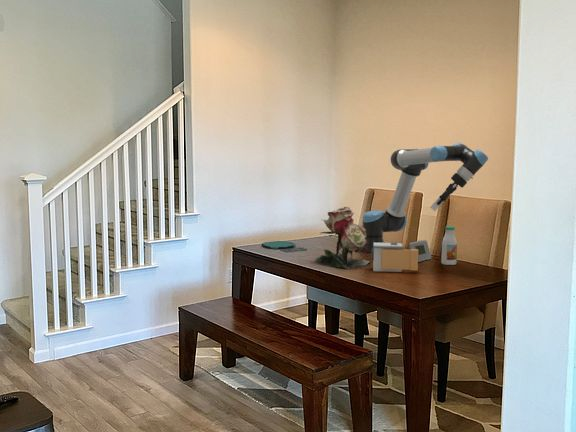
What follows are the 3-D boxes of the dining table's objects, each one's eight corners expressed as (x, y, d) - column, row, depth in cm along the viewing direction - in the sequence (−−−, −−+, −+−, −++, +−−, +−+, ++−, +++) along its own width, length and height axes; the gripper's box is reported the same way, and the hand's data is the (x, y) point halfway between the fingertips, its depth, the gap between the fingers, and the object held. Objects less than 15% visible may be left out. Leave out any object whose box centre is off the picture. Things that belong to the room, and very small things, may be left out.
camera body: (400, 268, 308) (401, 241, 306) (402, 272, 297) (402, 244, 296) (371, 267, 310) (371, 240, 308) (371, 271, 299) (372, 244, 297)
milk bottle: (440, 264, 317) (441, 227, 314) (442, 262, 324) (443, 225, 321) (455, 265, 314) (457, 227, 311) (456, 263, 321) (458, 225, 319)
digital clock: (414, 263, 319) (414, 244, 318) (402, 261, 327) (402, 241, 326) (436, 260, 328) (436, 241, 327) (423, 257, 336) (424, 239, 334)
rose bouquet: (354, 270, 301) (355, 211, 298) (309, 262, 321) (310, 207, 317) (382, 263, 320) (383, 207, 317) (339, 256, 340) (339, 203, 336)
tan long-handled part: (417, 269, 298) (417, 249, 297) (417, 270, 295) (418, 250, 294) (381, 268, 300) (381, 248, 299) (381, 269, 297) (382, 249, 296)
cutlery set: (284, 243, 384) (284, 239, 384) (310, 251, 359) (310, 247, 358) (256, 246, 374) (256, 242, 373) (281, 254, 348) (281, 250, 348)
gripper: (469, 181, 285) (438, 215, 289) (465, 182, 309) (437, 213, 313) (457, 171, 286) (426, 204, 290) (454, 172, 310) (426, 203, 314)
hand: (432, 209), depth 301 cm, fingers open, 13 cm apart
